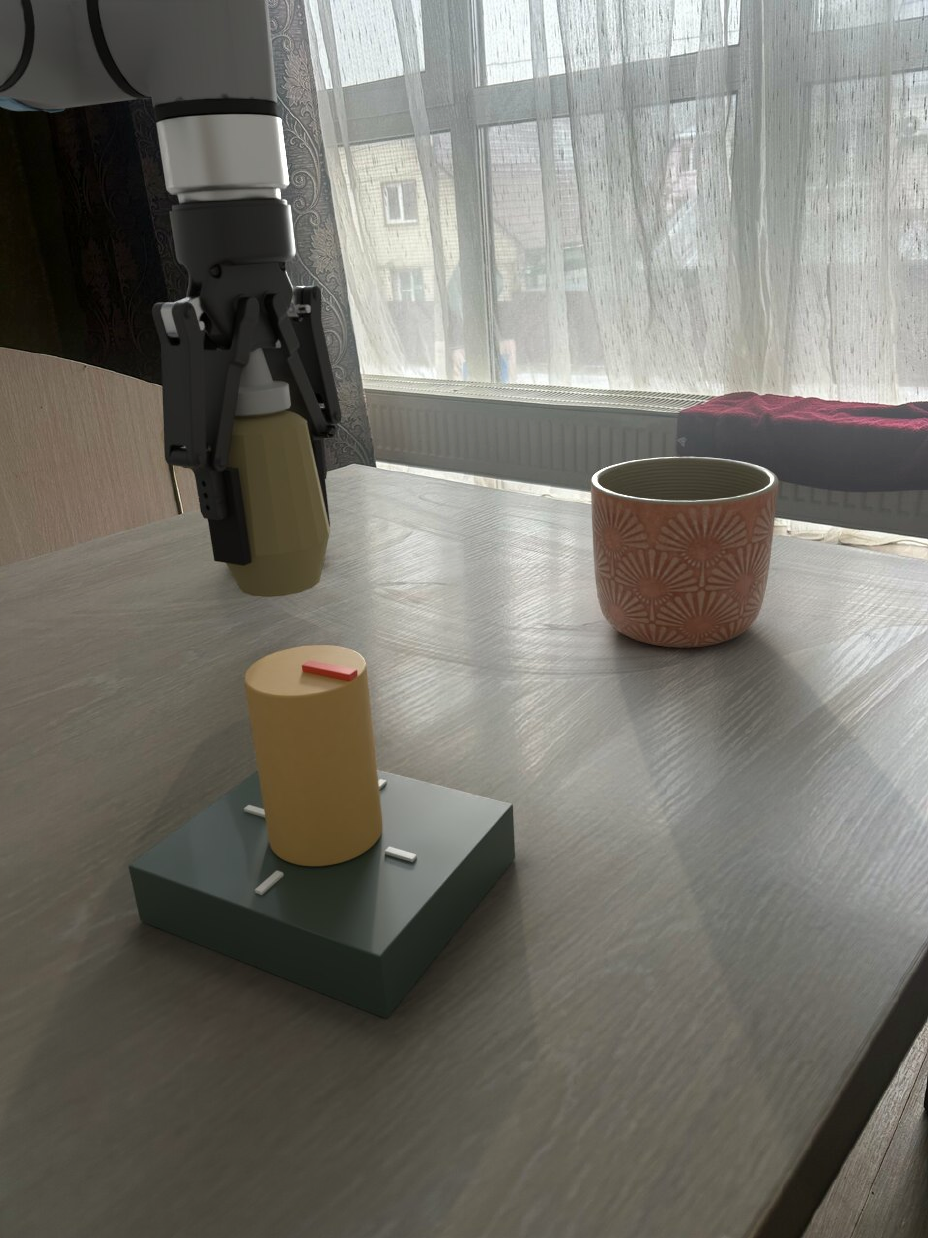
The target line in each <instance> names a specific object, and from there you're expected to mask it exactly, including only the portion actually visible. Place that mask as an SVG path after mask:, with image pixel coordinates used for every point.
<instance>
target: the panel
mask: <svg viewBox="0 0 928 1238" xmlns="http://www.w3.org/2000/svg"><path fill="white" fill-rule="evenodd" d="M377 773H378V783H379V792H380V802H381V812H382V822H383V828H382V833H381V835H380V837H379V839H378V840H377V842H376V843H375V844H374V845H373V846H372V847H371V848H370V849H369V850H367V851H366V852H364V853H363V854H361V855H359V856H357V857H355V858H353V859H351V860H348V861H345V862H342V863H338V864H334V865H328V866H302V865H296V864H292V863H290V862H287V861H285V860H283V859H281V858H280V857H278V856H277V855H276V854H275V853H274V852H273V850H272V848H271V847H270V843H269V838H268V832H267V825H266V819H265V812H264V806H263V800H262V793H261V787H260V780H259V774H258V769H257V770H256V771H255V772H253V773H252V774H250V775H249V776H247V778H245V779H244V780H243V781H241V782H239V783H238V784H237V785H236V786H234V787H233V788H232V789H230V790H229V791H227V792H226V793H225V794H223V795H222V796H221V797H219V798H218V799H216V800H215V801H213V802H212V803H210V805H208V806H207V807H206V808H204V809H203V810H202V811H200V812H199V813H197V814H196V815H195V816H193V817H192V818H190V819H189V820H188V821H186V822H185V823H184V824H182V825H181V826H180V827H178V828H177V829H175V830H174V831H173V832H171V833H170V834H169V835H167V836H166V837H164V838H163V839H162V840H161V841H159V842H158V843H157V844H156V845H153V846H152V847H151V848H149V850H147V851H145V852H144V853H143V854H141V855H140V856H139V857H138V858H136V859H135V860H133V861H132V862H131V863H129V864H128V866H127V867H128V871H129V875H130V880H131V884H132V889H133V893H134V898H135V903H136V907H137V911H138V916H139V919H140V921H141V922H142V923H145V924H147V925H149V926H153V927H155V928H157V929H160V930H162V931H165V932H167V933H170V934H172V935H175V936H177V937H180V938H181V939H185V940H187V941H190V942H192V943H194V944H197V945H200V946H203V947H204V948H208V949H209V950H211V951H215V952H217V953H220V954H222V955H225V956H227V957H230V958H232V959H235V960H238V961H240V962H243V963H245V964H247V965H250V966H252V967H255V968H258V969H261V970H262V971H264V972H265V971H266V972H267V973H270V974H273V975H275V976H278V977H280V978H282V979H285V980H288V981H291V982H293V983H295V984H298V985H300V986H303V987H306V988H307V989H310V990H313V991H315V992H318V993H321V994H323V995H325V996H328V997H331V998H333V999H336V1000H339V1001H341V1002H343V1003H345V1004H349V1005H350V1006H353V1007H356V1008H358V1009H361V1010H363V1011H365V1012H368V1013H371V1014H373V1015H375V1016H379V1017H381V1018H384V1019H388V1018H389V1017H390V1016H391V1015H392V1013H393V1012H394V1011H395V1010H396V1008H397V1007H398V1006H399V1005H400V1003H401V1002H402V1001H403V999H404V998H405V997H406V996H407V995H408V993H409V992H410V991H411V990H412V988H414V986H415V984H416V983H417V982H418V981H419V980H420V978H421V977H422V976H423V974H424V973H425V972H426V971H427V969H428V968H429V967H430V966H431V964H432V963H433V962H434V961H435V959H436V958H437V957H438V956H439V954H440V953H441V952H442V951H443V949H444V948H445V947H446V946H447V944H448V943H449V942H450V940H451V939H452V938H453V937H454V935H455V934H456V933H457V932H458V930H459V929H460V928H461V927H462V925H463V924H464V923H465V922H466V920H467V919H469V917H470V916H471V914H472V913H473V912H474V910H475V909H476V908H477V907H478V906H479V905H480V904H481V902H482V901H483V899H484V898H485V897H486V896H487V894H488V893H489V892H490V891H491V889H492V888H493V887H494V886H495V884H496V883H497V882H498V880H500V878H501V877H502V876H503V874H505V872H506V870H507V869H508V868H509V866H510V865H511V864H512V863H513V862H514V861H515V859H516V848H515V847H516V844H515V822H514V821H515V820H514V804H513V803H510V802H505V801H503V800H502V801H501V800H497V799H493V798H491V797H490V798H489V797H486V796H481V795H479V794H478V795H477V794H474V793H471V792H466V791H462V790H459V789H455V788H450V787H446V786H443V785H438V784H435V783H431V782H427V781H422V780H419V779H415V778H412V777H407V776H403V775H399V774H395V773H391V772H387V771H383V770H380V769H377Z"/></svg>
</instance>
